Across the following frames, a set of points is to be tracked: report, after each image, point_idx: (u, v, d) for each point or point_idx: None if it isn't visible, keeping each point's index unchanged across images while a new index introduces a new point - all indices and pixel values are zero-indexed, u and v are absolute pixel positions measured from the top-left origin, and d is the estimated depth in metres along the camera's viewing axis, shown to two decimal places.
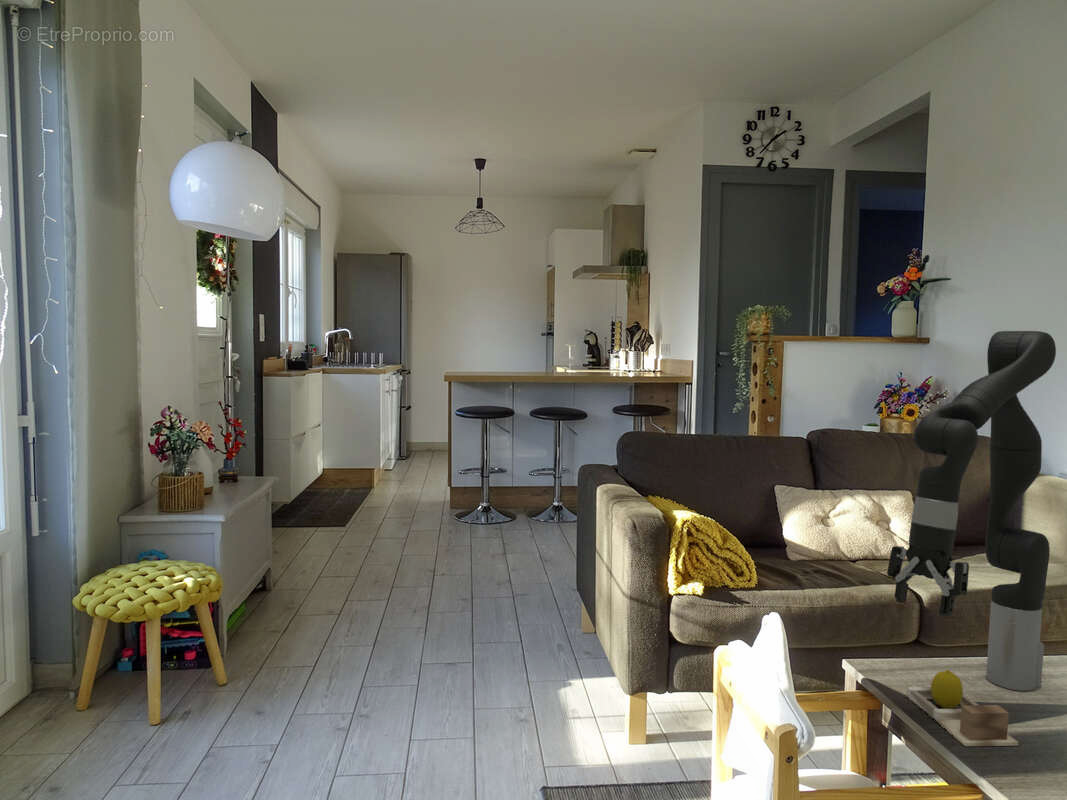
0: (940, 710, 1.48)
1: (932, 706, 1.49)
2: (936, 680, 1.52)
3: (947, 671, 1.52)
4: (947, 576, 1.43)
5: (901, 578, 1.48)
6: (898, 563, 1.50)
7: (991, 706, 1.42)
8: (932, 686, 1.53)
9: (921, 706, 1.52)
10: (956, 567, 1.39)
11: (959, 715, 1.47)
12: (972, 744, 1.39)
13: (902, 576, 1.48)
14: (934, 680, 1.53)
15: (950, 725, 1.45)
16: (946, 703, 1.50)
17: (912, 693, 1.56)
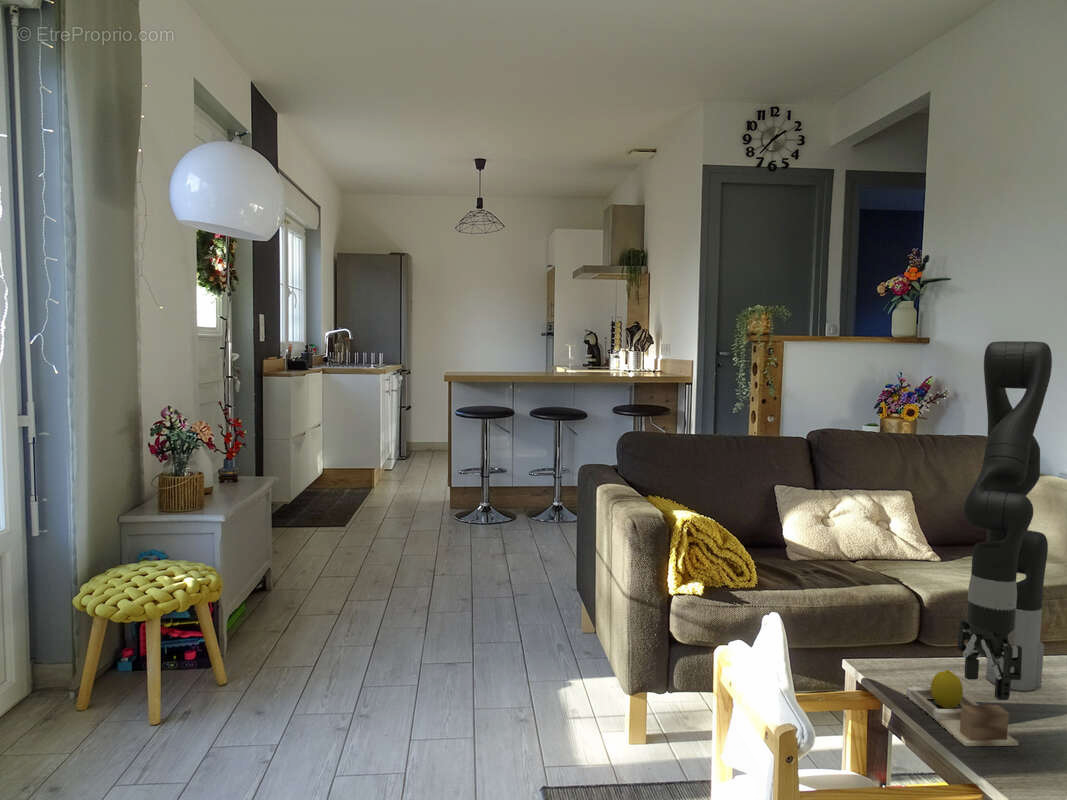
0: (940, 710, 1.48)
1: (932, 706, 1.49)
2: (936, 680, 1.52)
3: (947, 671, 1.52)
4: None
5: (967, 654, 1.44)
6: (968, 638, 1.46)
7: (991, 706, 1.42)
8: (932, 686, 1.53)
9: (921, 706, 1.52)
10: (1004, 650, 1.34)
11: (959, 715, 1.47)
12: (972, 744, 1.39)
13: (967, 652, 1.44)
14: (934, 680, 1.53)
15: (950, 725, 1.45)
16: (946, 703, 1.50)
17: (912, 693, 1.56)
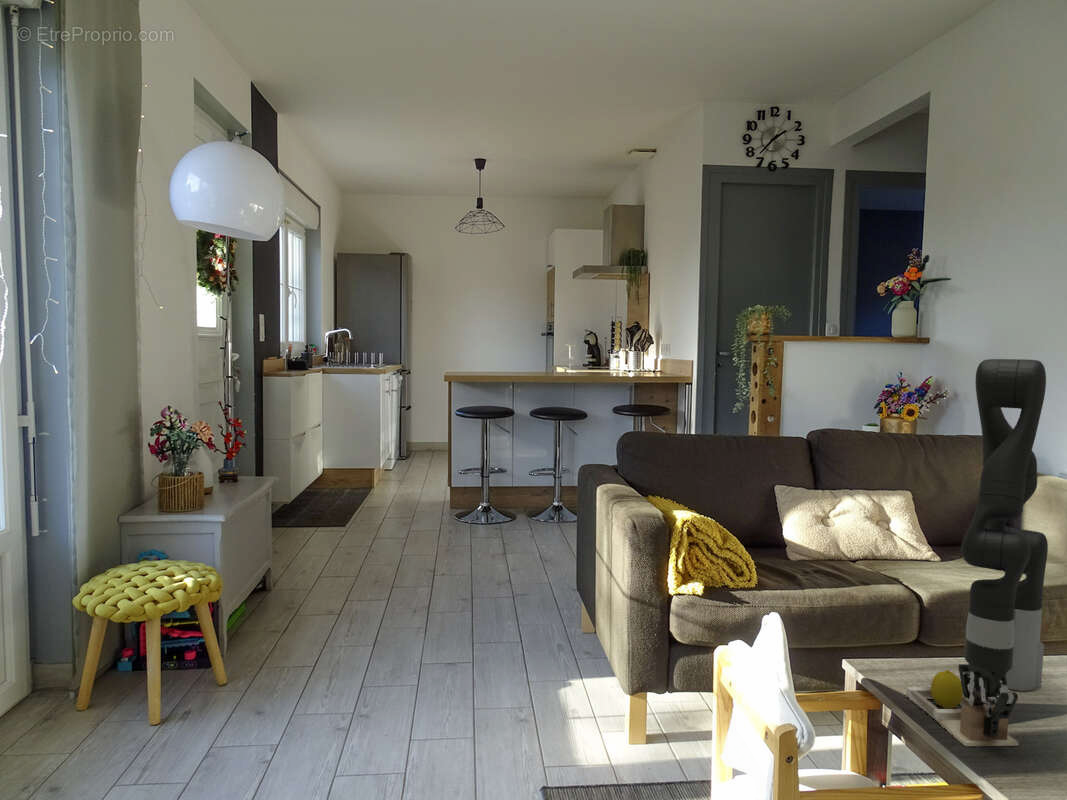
0: (941, 710, 1.48)
1: (932, 706, 1.49)
2: (936, 680, 1.52)
3: (947, 671, 1.52)
4: None
5: (973, 702, 1.42)
6: None
7: (991, 706, 1.42)
8: (932, 686, 1.53)
9: (921, 706, 1.52)
10: (1000, 696, 1.35)
11: (959, 715, 1.47)
12: (972, 744, 1.39)
13: (973, 700, 1.42)
14: (934, 680, 1.53)
15: (950, 725, 1.45)
16: (946, 703, 1.50)
17: (912, 693, 1.56)
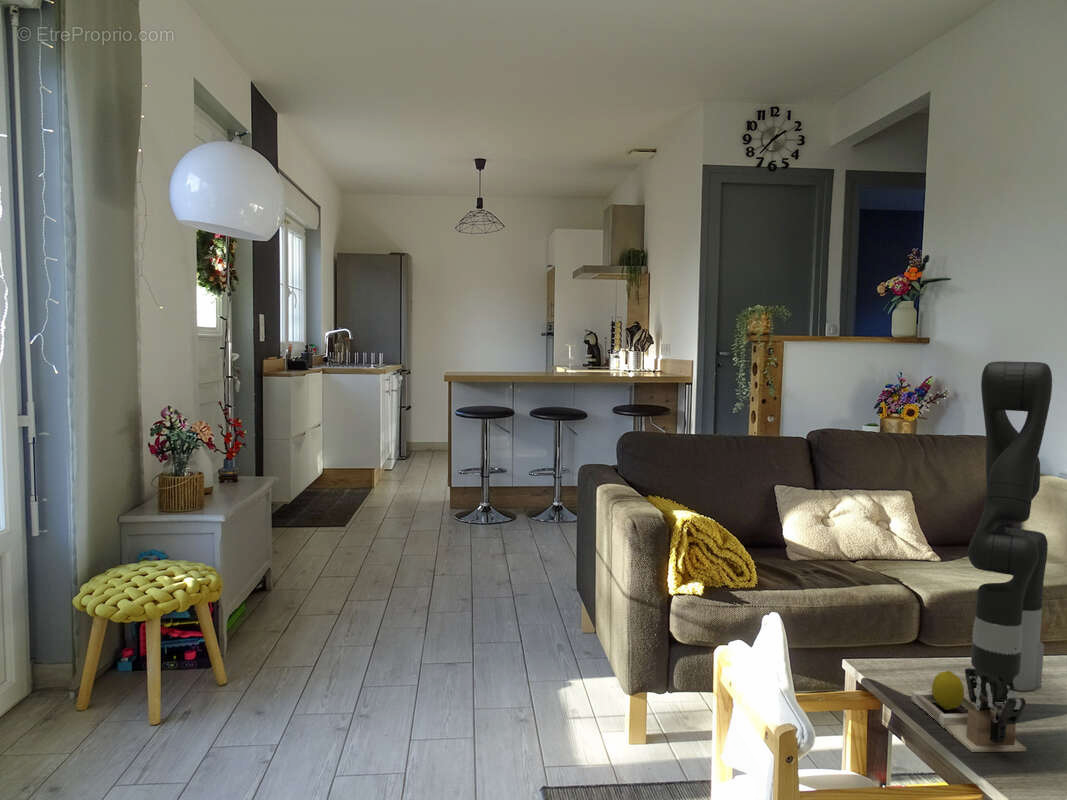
0: (947, 715, 1.46)
1: (938, 711, 1.47)
2: (937, 681, 1.52)
3: (948, 672, 1.52)
4: None
5: (979, 707, 1.40)
6: (977, 686, 1.43)
7: (998, 711, 1.40)
8: (933, 687, 1.52)
9: (927, 711, 1.50)
10: (1007, 702, 1.33)
11: (965, 720, 1.45)
12: (979, 750, 1.37)
13: (980, 705, 1.40)
14: (935, 681, 1.52)
15: (956, 730, 1.43)
16: (947, 704, 1.50)
17: (917, 697, 1.54)
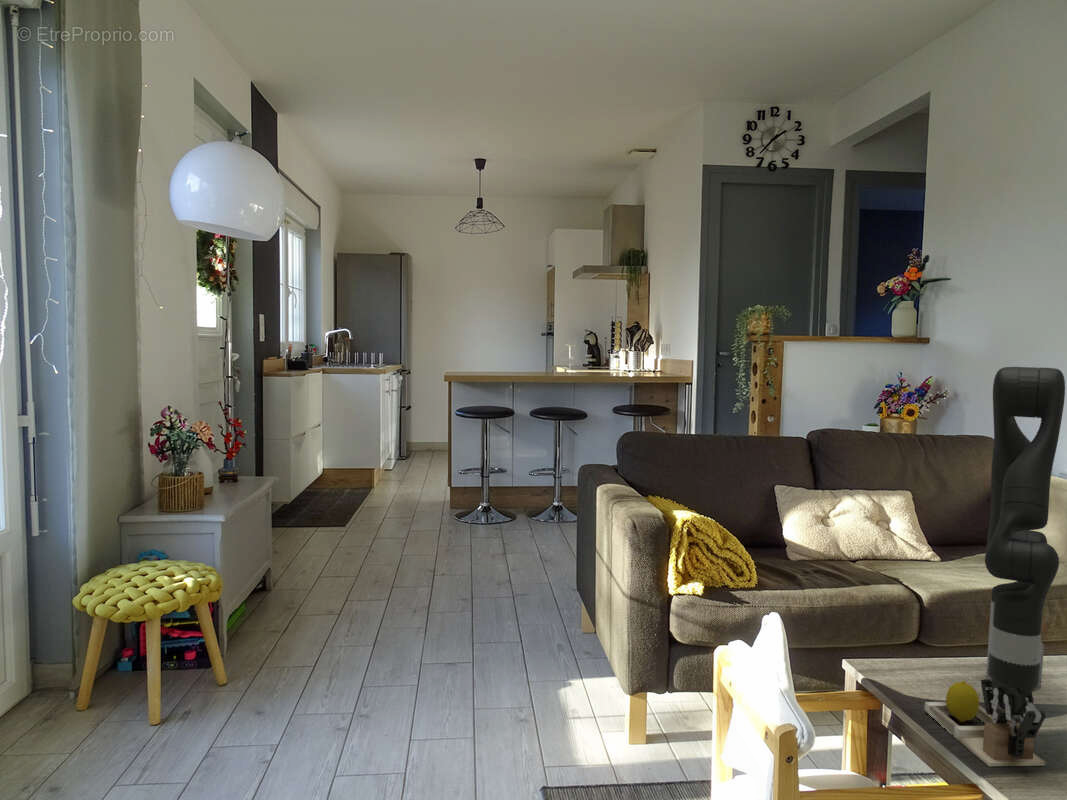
0: (962, 727, 1.41)
1: (953, 723, 1.43)
2: (952, 692, 1.47)
3: (963, 682, 1.47)
4: None
5: (996, 719, 1.36)
6: (993, 698, 1.38)
7: None
8: (947, 698, 1.48)
9: (941, 722, 1.46)
10: (1027, 715, 1.28)
11: (981, 732, 1.41)
12: (996, 764, 1.32)
13: (997, 717, 1.36)
14: (949, 691, 1.48)
15: (972, 743, 1.38)
16: (962, 715, 1.45)
17: (931, 709, 1.49)
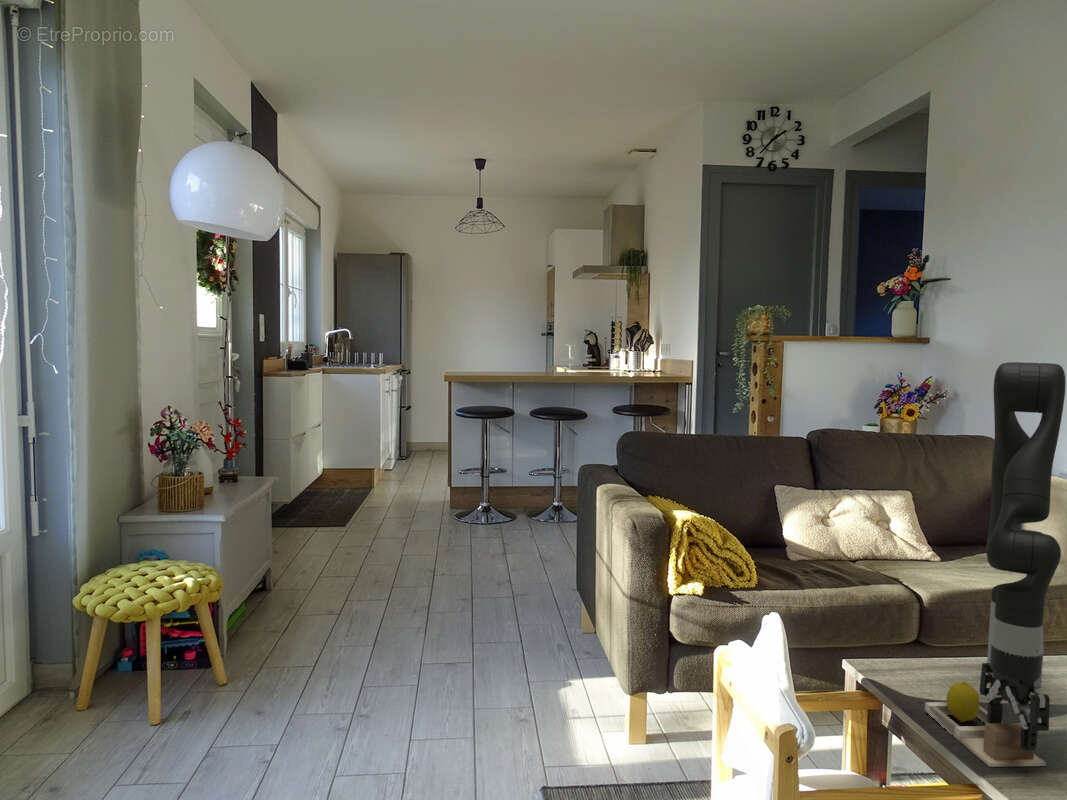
0: (962, 727, 1.41)
1: (953, 723, 1.43)
2: (952, 692, 1.47)
3: (963, 682, 1.47)
4: None
5: (990, 699, 1.38)
6: (991, 681, 1.39)
7: (1016, 724, 1.35)
8: (948, 698, 1.48)
9: (941, 723, 1.46)
10: (1031, 700, 1.27)
11: (982, 733, 1.40)
12: (997, 764, 1.32)
13: (990, 697, 1.38)
14: (950, 692, 1.47)
15: (973, 743, 1.38)
16: (963, 715, 1.45)
17: (931, 709, 1.49)
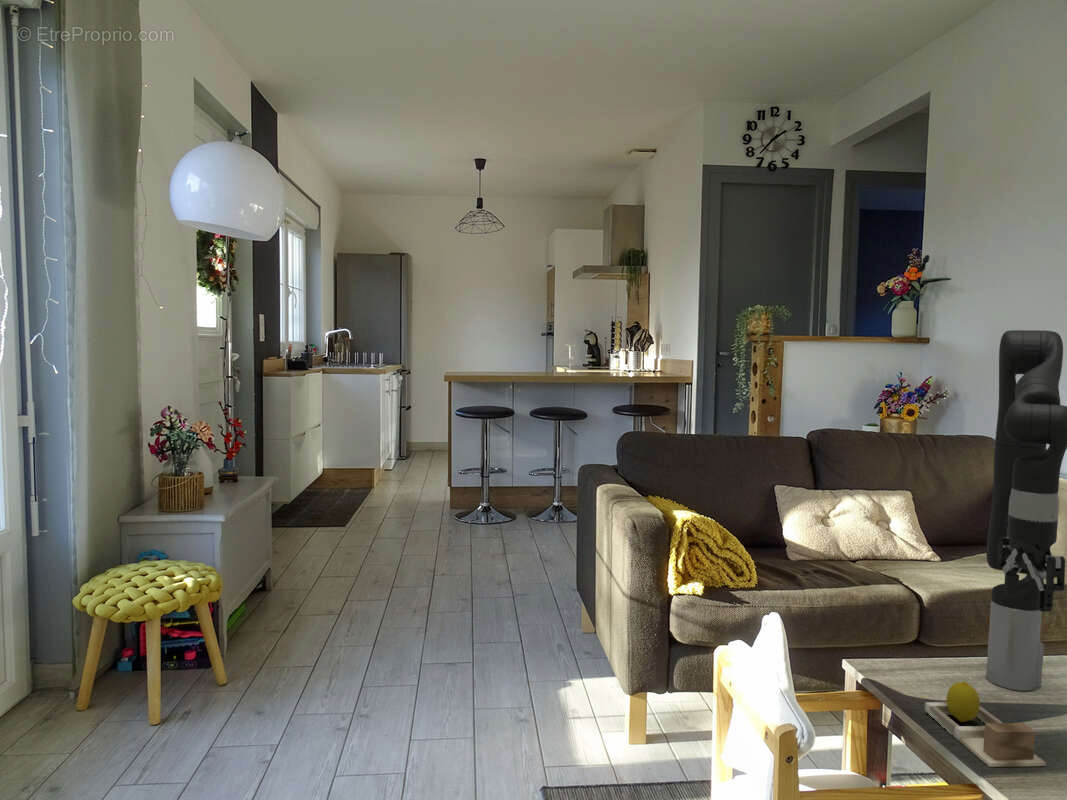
0: (962, 727, 1.41)
1: (953, 723, 1.43)
2: (952, 692, 1.47)
3: (963, 682, 1.47)
4: None
5: (1007, 570, 1.44)
6: (1007, 554, 1.45)
7: (1016, 724, 1.35)
8: (948, 698, 1.48)
9: (941, 723, 1.46)
10: (1047, 562, 1.33)
11: (982, 733, 1.40)
12: (997, 764, 1.32)
13: (1007, 568, 1.44)
14: (950, 692, 1.47)
15: (973, 743, 1.38)
16: (963, 715, 1.45)
17: (931, 709, 1.49)
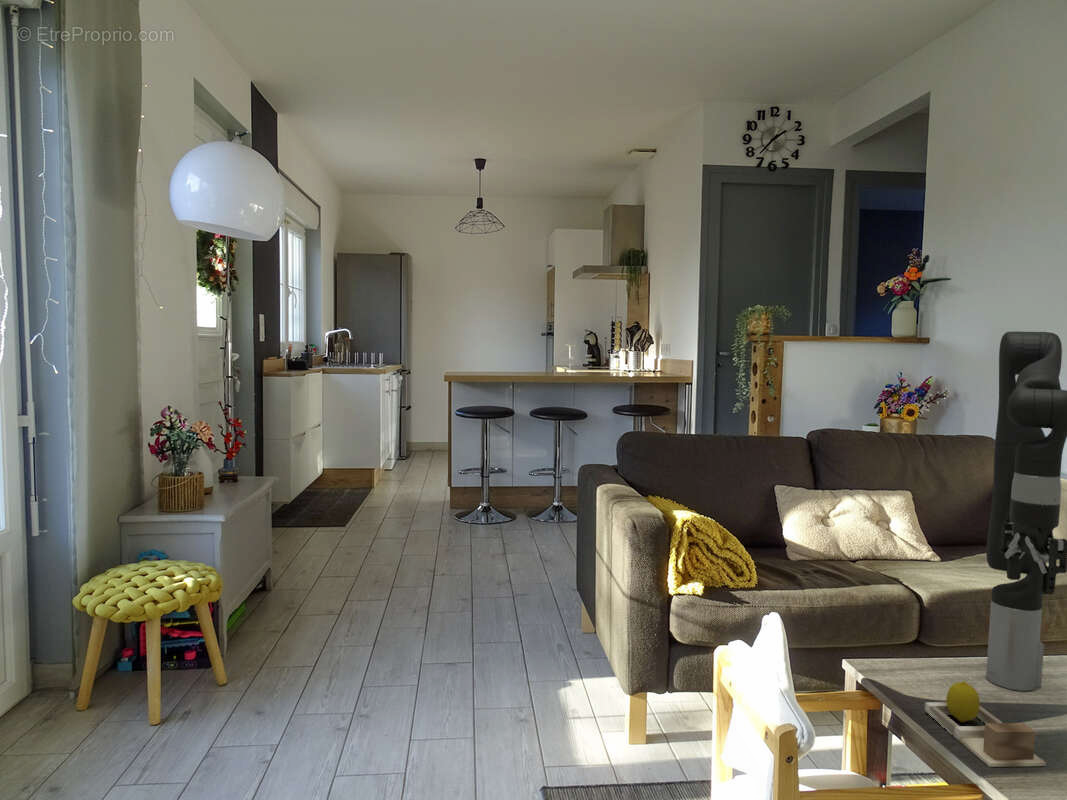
0: (962, 727, 1.41)
1: (953, 723, 1.43)
2: (952, 692, 1.47)
3: (963, 682, 1.47)
4: None
5: (1009, 555, 1.45)
6: (1010, 539, 1.47)
7: (1016, 724, 1.35)
8: (948, 698, 1.48)
9: (941, 723, 1.46)
10: (1050, 544, 1.35)
11: (982, 733, 1.40)
12: (997, 764, 1.32)
13: (1010, 553, 1.45)
14: (950, 692, 1.47)
15: (972, 743, 1.38)
16: (963, 715, 1.45)
17: (931, 709, 1.49)
